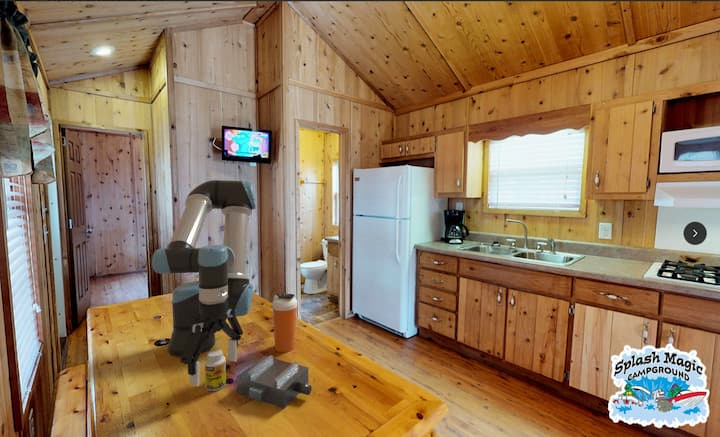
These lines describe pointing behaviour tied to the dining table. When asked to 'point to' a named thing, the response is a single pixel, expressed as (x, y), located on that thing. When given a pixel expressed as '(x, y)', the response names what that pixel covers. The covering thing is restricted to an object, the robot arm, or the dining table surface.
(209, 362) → the supplement bottle
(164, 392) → the dining table surface
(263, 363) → the motor block
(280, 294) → the shaker bottle
